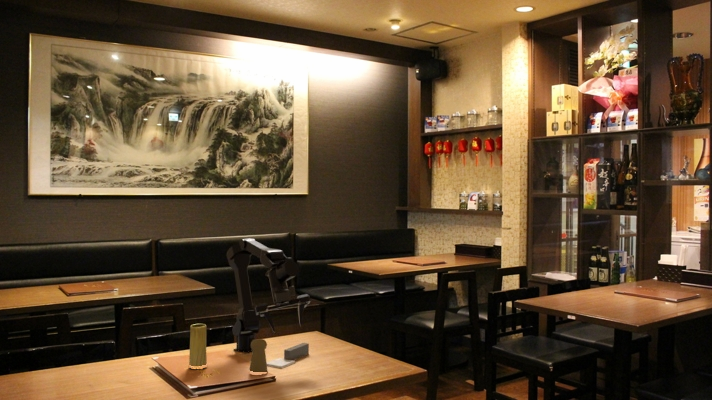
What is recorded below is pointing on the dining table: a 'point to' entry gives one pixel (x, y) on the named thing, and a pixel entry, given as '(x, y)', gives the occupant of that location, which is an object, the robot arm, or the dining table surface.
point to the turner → (290, 356)
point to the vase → (198, 345)
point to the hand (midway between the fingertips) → (287, 329)
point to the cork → (258, 356)
